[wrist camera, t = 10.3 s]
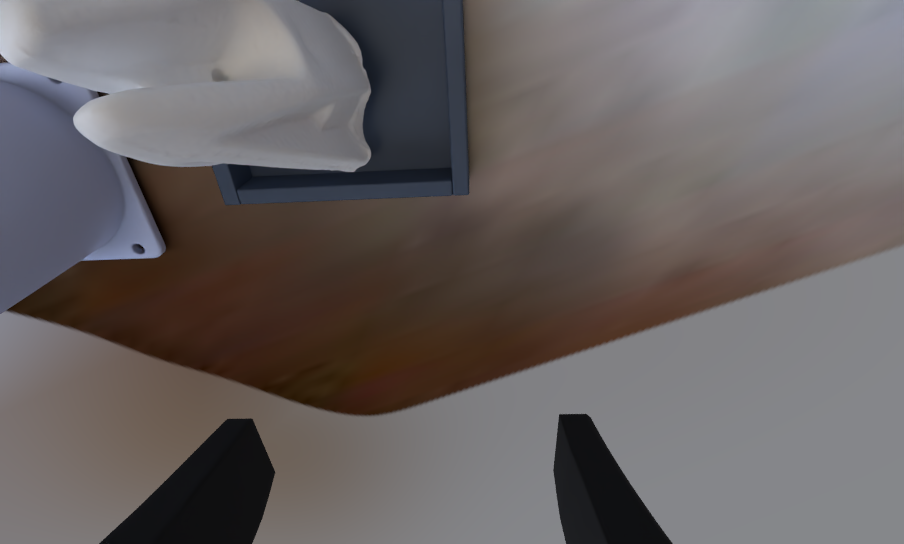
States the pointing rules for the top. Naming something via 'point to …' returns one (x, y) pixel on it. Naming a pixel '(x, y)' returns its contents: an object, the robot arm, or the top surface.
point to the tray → (387, 111)
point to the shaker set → (202, 78)
